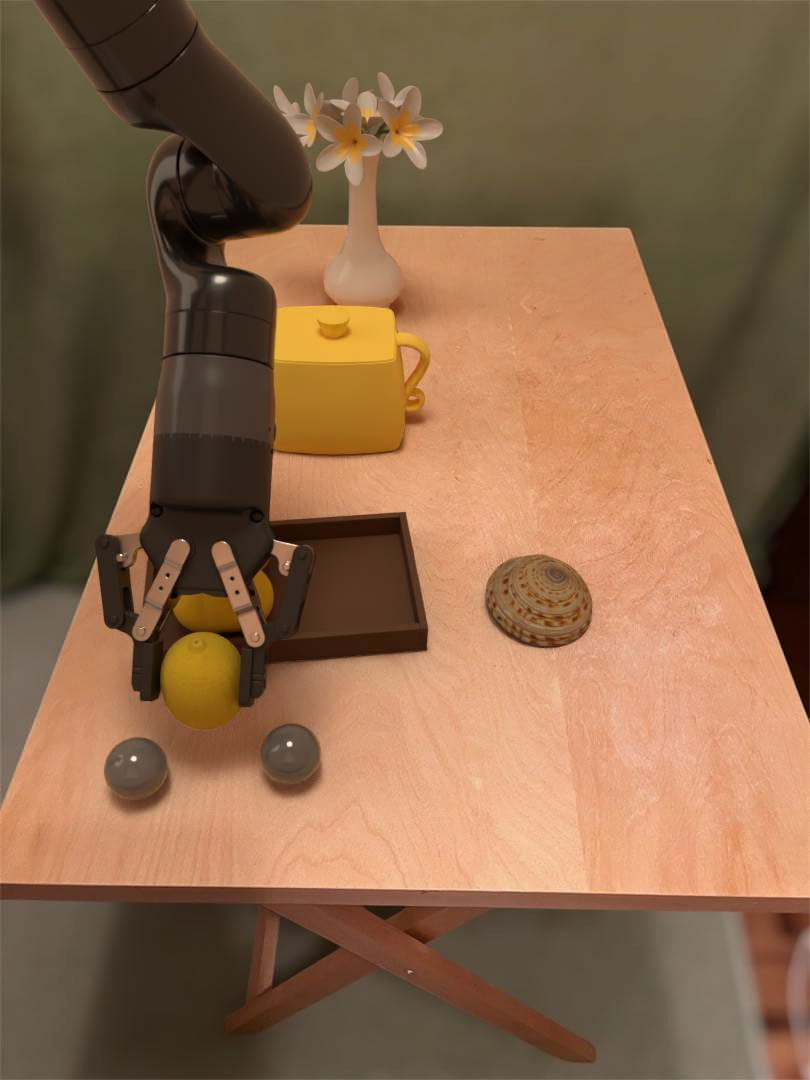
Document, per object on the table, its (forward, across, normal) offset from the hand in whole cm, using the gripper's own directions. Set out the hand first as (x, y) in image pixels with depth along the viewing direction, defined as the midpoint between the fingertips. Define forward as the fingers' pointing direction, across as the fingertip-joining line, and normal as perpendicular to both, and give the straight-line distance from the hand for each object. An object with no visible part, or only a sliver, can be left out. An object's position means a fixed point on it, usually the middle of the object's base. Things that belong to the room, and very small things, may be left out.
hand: (198, 701), depth 58 cm
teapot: (-23, +4, +33) cm, 41 cm away
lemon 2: (+2, 0, +4) cm, 5 cm away
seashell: (-7, +23, +16) cm, 29 cm away
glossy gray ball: (+6, -4, +3) cm, 8 cm away
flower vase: (-39, +5, +49) cm, 63 cm away
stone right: (+5, +6, +4) cm, 9 cm away
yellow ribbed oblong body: (-4, -1, +13) cm, 14 cm away
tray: (-6, +3, +16) cm, 17 cm away
